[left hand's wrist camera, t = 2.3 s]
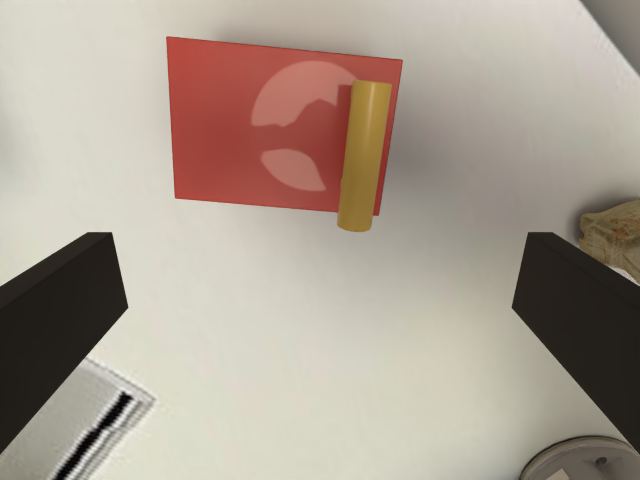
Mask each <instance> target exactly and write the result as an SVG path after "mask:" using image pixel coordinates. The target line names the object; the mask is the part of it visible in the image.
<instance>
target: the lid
mask: <svg viewBox="0 0 640 480" xmlns="http://www.w3.org/2000/svg"><path fill="white" fill-rule="evenodd" d="M166 40H167V59H168V77H169V96H170V115H171V134H172V152H173V171H174V190H175V198H176V199H188V200H199V201H211V202H223V203H234V204H246V205H258V206H269V207H281V208H292V209H304V210H316V211H327V212H338V220H337V225H338V226H339V227H340V228H342V229H344V230H348V231H353V232H365V231H368V230H370V228H371V223H372V216H373V215H374V216H379V212H380V205H381V199H382V192H383V186H384V179H385V173H386V166H387V160H388V153H389V147H390V140H391V134H392V127H393V121H394V114H395V108H396V101H397V95H398V88H399V82H400V76H401V69H402V63H403V60H399V59H389V58H379V57H369V56H359V55H349V54H339V53H329V52H319V51H309V50H299V49H289V48H279V47H269V46H259V45H249V44H239V43H229V42H219V41H209V40H199V39H189V38H179V37H168V36H167V37H166Z"/></svg>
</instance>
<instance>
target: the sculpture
mask: <svg viewBox="0 0 640 480" xmlns="http://www.w3.org/2000/svg"><path fill="white" fill-rule="evenodd" d="M579 226H580V229H581V230H582V231H583V233H584V235H582V236H581V237H580V238H579V245H580V249H581V250H583V251H585V252H586V253H587V254H588V255H590V256H591V257H593V258H595V259H596V260H598V261H599V262H601V263H603V264H604V265H606V266H610V267H616V268H620V269H622V270H625V271H626V272H628V273H629V274H630V275H631V276H632V277H633V278H634V279H635V280H636V281H637V282H638V283H639V284H640V200H635V201H630V202H626V203H623V204H620V205H618V206H615V207H613V208H610V209H608V210H606V211H603V212H600V213H586V214H583V215H582V216H581V217H580V225H579Z"/></svg>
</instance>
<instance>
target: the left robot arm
mask: <svg viewBox="0 0 640 480" xmlns="http://www.w3.org/2000/svg"><path fill="white" fill-rule="evenodd" d="M127 309H128V304H127V299H126V294H125V290H124V285H123V281H122V276H121V272H120V267H119V262H118V258H117V253H116V249H115V244H114V240H113V235H112V232H87V233H86V234H84V235H82V236H81V237H79V238H78V239H76V240H74V241H73V242H71V243H70V244H68V245H66V246H65V247H63V248H62V249H60V250H58V251H57V252H55V253H54V254H52V255H50V256H49V257H47V258H45V259H44V260H42V261H41V262H39V263H37V264H36V265H34V266H33V267H31V268H29V269H28V270H26V271H25V272H23V273H21V274H20V275H18V276H17V277H15V278H13V279H12V280H10V281H8V282H7V283H5V284H4V285H2V286H0V454H1V453H2V452H3V451H4V450H5V449H6V447H7V446H8V445H9V444H10V443H11V442H12V441H13V439H14V438H15V437H16V436H17V435H18V434H19V432H20V431H21V430H22V429H23V428H24V427H25V426H26V424H27V423H28V422H29V421H30V420H31V419H32V418H33V416H34V415H35V414H36V413H37V412H38V411H39V410H40V408H41V407H42V406H43V405H44V404H45V403H46V402H47V400H48V399H49V398H50V397H51V396H52V395H53V393H54V392H55V391H56V390H57V389H58V388H59V387H60V385H61V384H62V383H63V382H64V381H65V380H66V379H67V377H68V376H69V375H70V374H71V373H72V372H73V371H74V369H75V368H76V367H77V366H78V365H79V364H80V363H81V361H82V360H83V359H84V358H85V357H86V356H87V355H88V353H89V352H90V351H91V350H92V349H93V348H94V346H95V345H96V344H97V343H98V342H99V341H100V340H101V338H102V337H103V336H104V335H105V334H106V333H107V332H108V330H109V329H110V328H111V327H112V326H113V325H114V324H115V322H116V321H117V320H118V319H119V318H120V317H121V316H122V314H123V313H124V312H125V311H126V310H127ZM512 309H513V310H514V311H515V312H516V313H517V314H518V316H519V317H520V318H521V319H522V320H523V321H524V322H525V324H526V325H527V326H528V327H529V328H530V329H531V330H532V332H533V333H534V334H535V335H536V336H537V337H538V338H539V340H540V341H541V342H542V343H543V344H544V345H545V346H546V348H547V349H548V350H549V351H550V352H551V353H552V355H553V356H554V357H555V358H556V359H557V360H558V361H559V363H560V364H561V365H562V366H563V367H564V368H565V369H566V371H567V372H568V373H569V374H570V375H571V376H572V377H573V379H574V380H575V381H576V382H577V383H578V384H579V385H580V387H581V388H582V389H583V390H584V391H585V392H586V394H587V395H588V396H589V397H590V398H591V399H592V400H593V402H594V403H595V404H596V405H597V406H598V407H599V408H600V410H601V411H602V412H603V413H604V414H605V415H606V416H607V418H608V419H609V420H610V421H611V422H612V423H613V424H614V426H615V427H616V428H617V429H618V430H619V431H620V432H621V434H622V435H623V436H624V437H625V438H626V439H627V441H628V442H629V443H630V444H631V445H632V446H633V447H634V449H635V450H636V451H637V452H638V453H639V454H640V286H638V285H636V284H635V283H633V282H632V281H630V280H628V279H627V278H625V277H623V276H622V275H620V274H619V273H617V272H615V271H614V270H612V269H611V268H609V267H607V266H606V265H604V264H603V263H601V262H599V261H598V260H596V259H595V258H593V257H591V256H590V255H588V254H586V253H585V252H583V251H582V250H580V249H578V248H577V247H575V246H574V245H572V244H570V243H569V242H567V241H566V240H564V239H562V238H561V237H559V236H558V235H556V234H554V233H553V232H528V235H527V240H526V244H525V249H524V253H523V258H522V262H521V267H520V272H519V276H518V281H517V285H516V290H515V294H514V299H513V304H512ZM520 480H640V457H639V456H638V455H637V454H636V452H635V451H634V450H633V449H632V448H631V447H629V446H628V445H626V444H625V443H623V442H620V441H618V440H615V439H611V438H605V437H583V438H577V439H572V440H569V441H565V442H562V443H560V444H557V445H555V446H553V447H551V448H549V449H547V450H545V451H544V452H542V453H541V454H540V455H538V456H537V457H536V458H535V459H533V460H532V461H531V462H530V464H529V465H528V466H527V467H526V469H525V470H524V472H523V474H522V476H521V478H520Z"/></svg>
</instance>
